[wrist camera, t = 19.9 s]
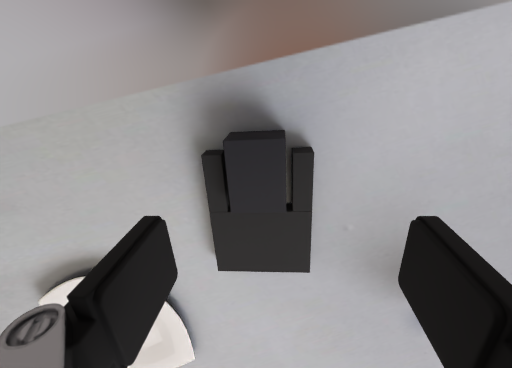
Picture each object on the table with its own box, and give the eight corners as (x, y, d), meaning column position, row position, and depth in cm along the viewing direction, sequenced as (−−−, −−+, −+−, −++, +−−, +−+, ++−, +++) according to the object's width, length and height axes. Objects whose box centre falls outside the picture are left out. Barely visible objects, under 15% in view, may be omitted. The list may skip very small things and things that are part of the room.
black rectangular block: (230, 132, 28) (222, 140, 24) (284, 129, 27) (285, 138, 23) (236, 196, 31) (231, 213, 27) (285, 196, 30) (286, 212, 26)
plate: (148, 251, 35) (141, 260, 34) (214, 354, 43) (211, 366, 42) (29, 284, 40) (17, 294, 38) (108, 371, 48) (101, 383, 46)
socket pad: (206, 150, 29) (201, 155, 27) (311, 146, 27) (314, 151, 26) (221, 260, 35) (218, 271, 33) (308, 262, 34) (309, 272, 32)
